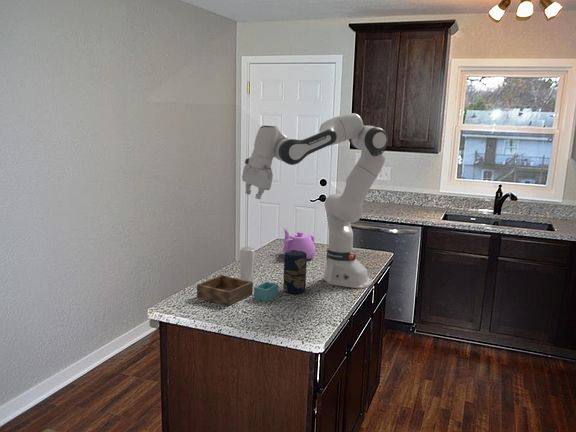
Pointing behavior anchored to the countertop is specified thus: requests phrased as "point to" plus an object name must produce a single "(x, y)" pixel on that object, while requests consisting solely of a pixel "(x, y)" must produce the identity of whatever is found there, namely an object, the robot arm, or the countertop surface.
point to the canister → (295, 271)
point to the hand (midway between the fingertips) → (252, 196)
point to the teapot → (299, 243)
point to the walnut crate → (224, 290)
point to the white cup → (246, 263)
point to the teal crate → (266, 291)
